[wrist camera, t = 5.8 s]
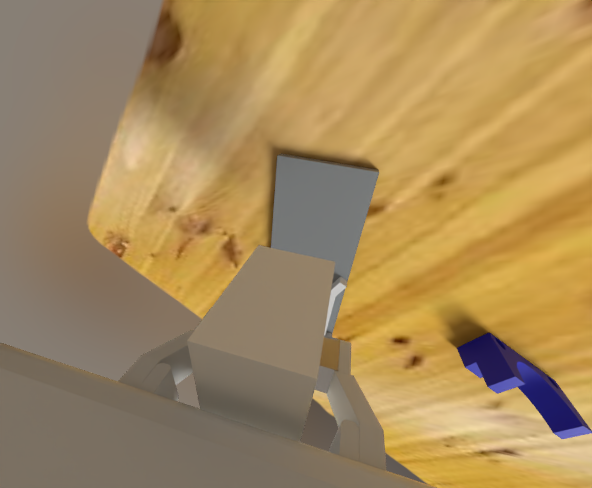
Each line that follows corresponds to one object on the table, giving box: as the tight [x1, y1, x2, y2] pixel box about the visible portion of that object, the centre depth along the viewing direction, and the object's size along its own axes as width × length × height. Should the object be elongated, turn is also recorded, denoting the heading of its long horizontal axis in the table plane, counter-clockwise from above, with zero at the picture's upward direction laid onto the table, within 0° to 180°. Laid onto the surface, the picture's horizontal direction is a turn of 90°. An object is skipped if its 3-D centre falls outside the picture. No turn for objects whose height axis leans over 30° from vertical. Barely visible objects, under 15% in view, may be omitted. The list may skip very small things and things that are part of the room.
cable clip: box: [457, 333, 592, 439], centre depth 29 cm, size 12×4×6 cm, turn 56°
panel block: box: [187, 245, 335, 442], centre depth 11 cm, size 7×4×6 cm, turn 174°
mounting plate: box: [271, 154, 379, 337], centre depth 28 cm, size 24×10×4 cm, turn 173°
